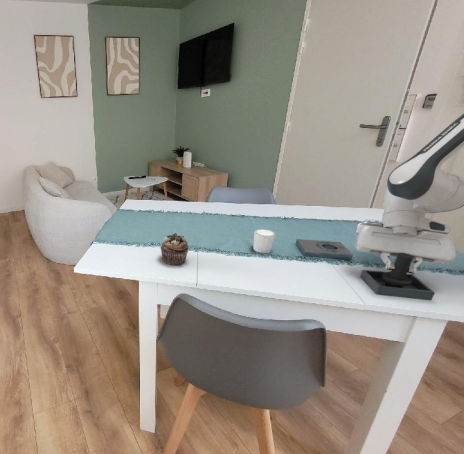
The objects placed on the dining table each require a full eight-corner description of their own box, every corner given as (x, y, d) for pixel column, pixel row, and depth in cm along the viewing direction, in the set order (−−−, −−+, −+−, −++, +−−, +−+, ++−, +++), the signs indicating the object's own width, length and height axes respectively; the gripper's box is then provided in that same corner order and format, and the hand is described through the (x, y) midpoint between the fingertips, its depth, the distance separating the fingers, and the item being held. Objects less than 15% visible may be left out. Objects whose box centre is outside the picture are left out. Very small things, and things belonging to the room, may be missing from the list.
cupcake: (192, 257, 105) (194, 232, 101) (180, 269, 98) (181, 243, 94) (168, 251, 111) (169, 227, 107) (155, 261, 104) (155, 236, 100)
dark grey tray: (409, 281, 86) (412, 274, 85) (431, 300, 78) (435, 292, 77) (359, 276, 89) (362, 269, 88) (376, 294, 81) (378, 286, 80)
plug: (399, 281, 85) (412, 251, 81) (413, 293, 80) (427, 261, 76) (375, 279, 87) (385, 249, 83) (386, 290, 81) (398, 259, 78)
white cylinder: (272, 247, 109) (276, 230, 106) (271, 255, 104) (275, 237, 101) (252, 244, 112) (255, 227, 110) (250, 251, 107) (253, 234, 104)
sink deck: (338, 246, 107) (340, 241, 106) (351, 259, 98) (353, 254, 97) (295, 243, 111) (296, 238, 110) (304, 256, 102) (305, 251, 101)
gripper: (360, 216, 87) (356, 259, 83) (459, 227, 77) (460, 277, 73) (353, 225, 92) (349, 265, 88) (445, 236, 82) (445, 282, 78)
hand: (400, 271), depth 81 cm, fingers closed on plug, 3 cm apart
